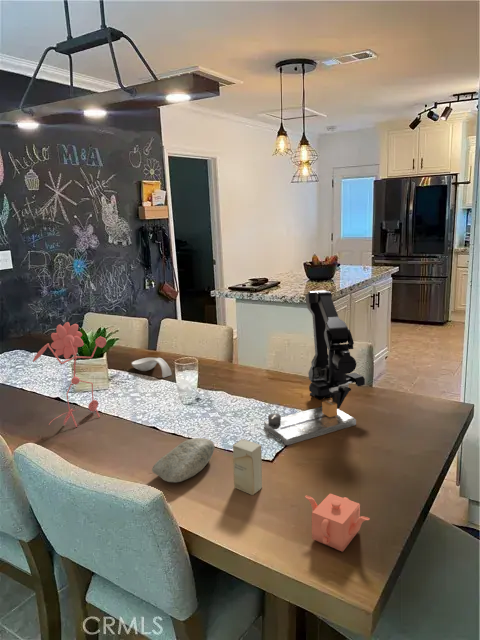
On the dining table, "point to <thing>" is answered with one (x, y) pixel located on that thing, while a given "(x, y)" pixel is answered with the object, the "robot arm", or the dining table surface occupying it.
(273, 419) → the dial
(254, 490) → the skincare box
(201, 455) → the rock
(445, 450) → the dining table surface
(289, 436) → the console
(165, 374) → the spoon rest
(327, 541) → the teapot
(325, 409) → the fader
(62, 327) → the figurine
